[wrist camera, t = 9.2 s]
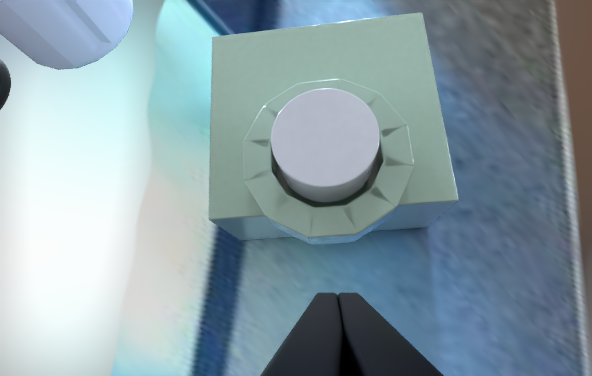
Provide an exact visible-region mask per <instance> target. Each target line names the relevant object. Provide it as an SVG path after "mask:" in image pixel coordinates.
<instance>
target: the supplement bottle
mask: <svg viewBox="0 0 592 376" xmlns="http://www.w3.org/2000/svg"><path fill="white" fill-rule="evenodd" d="M10 88H11V78H10V74H9V71H8V68H7V67H6V65H5V64H4V63H3V61H2V60H0V110H1V108H2V107H3V105H4V104H5V102H6V100H7V98H8V96H9V92H10Z"/></svg>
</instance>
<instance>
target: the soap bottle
mask: <svg viewBox="0 0 592 376" xmlns="http://www.w3.org/2000/svg"><path fill="white" fill-rule="evenodd" d="M132 18H133V0H0V34H1V35H3V36H4V37H5V38H6V39H7V40H9V41H10V42H11V43H12V44H13V45H15V46H16V47H17V48H18V49H20V50H21V51H22V52H24V53H25V54H26V55H27V56H29V57H30V58H31V59H32V60H33V61H35V62H36V63H37V64H40V65H44V66H47V67H51V68H55V69H58V70H59V69H72V68H79V67H82V66H85V65H87V64H90V63H92V62H95V61H98V60H99V59H100V58H102V57H103V56H105V55H106V54H107V53H108V52H110V51H111V50H113V49H114V48H115V47H116V46H117V45H118V43H119V42H120V41H121V40H122V38H123V37H124V36H125V34H126V33H127V32H128V29H129V26H130V23H131V20H132Z"/></svg>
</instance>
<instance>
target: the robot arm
mask: <svg viewBox="0 0 592 376" xmlns="http://www.w3.org/2000/svg"><path fill="white" fill-rule="evenodd" d="M260 376H444V375H443V374H441V373H440V372H439V371H438V370H437V369H436V368H435V367H434V366H433V365H432V364H431V363H430V362H429V361H428V360H427V359H426V358H425V357H424V356H423V355H422V354H421V353H420V352H419V351H418V350H416V349H415V348H414V347H413V346H412V345H411V344H410V343H409V342H408V341H407V340H406V339H405V338H404V337H403V336H402V335H401V334H400V333H399V332H398V331H397V330H396V329H395V328H394V327H393V326H391V325H390V324H389V323H388V322H387V321H386V320H385V319H384V318H383V317H382V316H381V315H380V314H379V313H378V312H377V311H376V310H375V309H374V308H373V307H372V306H371V305H370V304H369V303H368V302H366V301H365V300H364V299H363V298H362V297H361V296H360V295H359V294H357V293H339V294H338V297H337V294H335V293H318V294H317V295H316V296H315V297H314V299H313V300H312V302H311V303H310V304H309V306H308V307H307V309H306V310H305V312H304V313H303V315H302V316H301V317H300V319H299V320H298V322H297V323H296V325H295V326H294V328H293V329H292V330H291V332H290V333H289V335H288V336H287V338H286V339H285V341H284V342H283V343H282V345H281V346H280V348H279V349H278V351H277V352H276V353H275V355H274V356H273V358H272V359H271V361H270V362H269V364H268V365H267V366H266V368H265V369H264V371H263V372H262V374H261V375H260Z"/></svg>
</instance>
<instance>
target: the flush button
mask: <svg viewBox="0 0 592 376" xmlns="http://www.w3.org/2000/svg"><path fill="white" fill-rule="evenodd" d="M379 143H380V131H379V126H378V123H377V120H376V118H375V116H374V114H373V112H372V111H371V109H370V108H369V107H368V106H367V105H366V104H365V103H364V102H363V101H362V100H361V99H359V98H358V97H356V96H354V95H353V94H350V93H348V92H345V91H342V90H338V89H330V88H324V89H315V90H311V91H308V92H305V93H303V94H300V95H299V96H297V97H295V98H294V99H292V100H291V101H290V102H288V103H287V104H286V105H285V106H284V107H283V109H282V110H281V111H280V113H279V114H278V116H277V118H276V120H275V122H274V124H273V128H272V133H271V147H272V151H273V155H274V157H275V159H276V162H277V164H278V167H279V169H280V171H281V174H282V176H283V178H284V180H285V181H286V183H287V184H288V185H289V187H290V188H291V189H292V190H293V191H295V192H296V193H297V194H299V195H300V196H302V197H304V198H307V199H309V200H312V201H317V202H335V201H339V200H343V199H345V198H347V197H349V196H351V195H353V194H355V193H356V192H357V191H358V190H360V189H361V188H362V187H363V186H364V184H365V183H366V182H367V180H368V179H369V177H370V175H371V173H372V170H373V167H374V163H375V159H376V156H377V152H378V148H379Z"/></svg>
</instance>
